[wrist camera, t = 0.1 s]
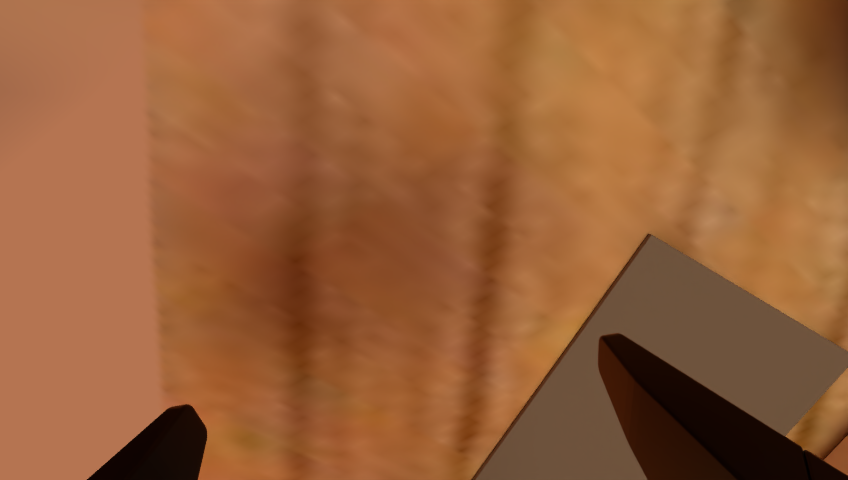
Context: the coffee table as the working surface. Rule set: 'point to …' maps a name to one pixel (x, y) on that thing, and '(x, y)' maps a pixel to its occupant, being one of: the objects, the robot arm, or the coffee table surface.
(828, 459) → the box
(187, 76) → the coffee table surface
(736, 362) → the mat
